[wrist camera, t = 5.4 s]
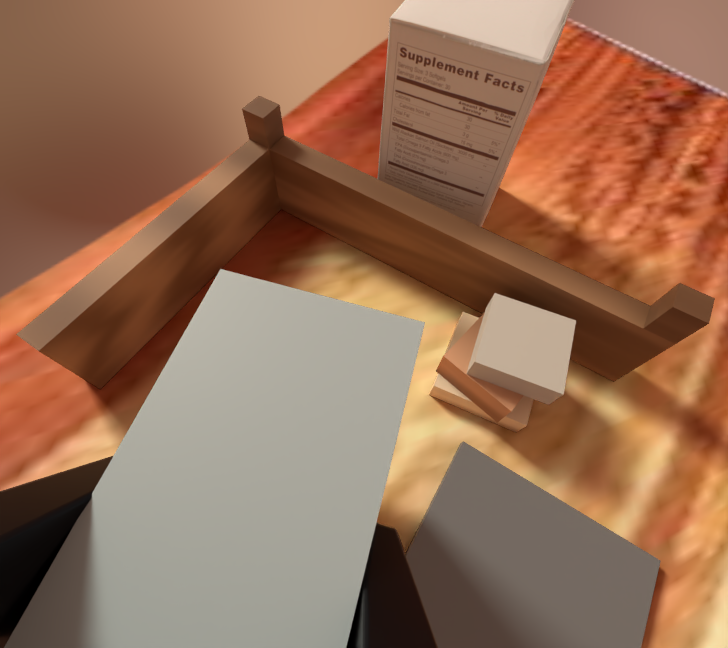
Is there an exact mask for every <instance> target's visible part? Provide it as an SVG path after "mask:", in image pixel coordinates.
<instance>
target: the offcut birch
mask: <svg viewBox="0 0 728 648" xmlns="http://www.w3.org/2000/svg"><path fill="white" fill-rule="evenodd" d="M478 319H479V318H478V317H475V316H473V315H470V314H468V313H465V312H462V314H461V316H460V318H459V320H458V322H457V324H456V327H455V330H454V332H453V335H452V337H451V340H450V342H449V345H448V347H447V350H446V353H447V352H448V351H449V350H450V349H451V347H452V346H453V345H454V344H455V343H456V342H457V341H458V340H459V339H460V338H461V337H462V336H463V335H464V334H465V333H466V332H467V330H468V329H469V328H470V327H471V326H472V325H473V324H474V323H475V322H476V321H477V320H478ZM446 353H445V354H446ZM429 395H431V396H433V397H435V398H438V399H440V400H442V401H444V402H447V403H449V404H451V405H454V406H456V407H458V408H461V409H463V410H465V411H467V412H470V413H472V414H474V415H477V416H479V417H481V418H484V419H486V420H488V421H490V422H493V423H495V424H497V425H500V426H502V427H504V428H507V429H509V430H511V431H513V432H518V431H519V430H521V429H522V428H524V427H525V426H527V423H528V419H529V415H530V412H531V408H532V404H533V400H534V399H532V398H529V397H526V396H523V397H522V399H521V400H520V401H519V402H518V404H517V405H516V406H515V407H514V409H513V410H512V411H511V412H510V413H509V414H508V415H506V416H505V417H504V418H503V419H501V420H500V421H499V422H498V423H497V422H496V421H495V420H494V419H492V418H491V417H490V416H489V415H488V414H486V413H485V412H484V411H483V410H482V409H480V408H479V407H478V406H477V405H476V404H474V403H473V402H472V401H471V400H470V399H469V398H467V397H466V396H465V395H464V394H463V393H461V392H460V391H459V390H458V389H457V388H455V387H454V386H453V385H452V384H451V383H449V382H448V381H447V380H446V379H445V378H443V377H442V376H441V375H440V374H439V373H437V376H436V378H435V381H434V383H433V386H432V388H431V391H430V394H429Z"/></svg>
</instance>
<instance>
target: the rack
mask: <svg viewBox="0 0 728 648" xmlns="http://www.w3.org/2000/svg"><path fill="white" fill-rule="evenodd" d="M242 110H243V115H244V119H245V122H246V127H247V131H248V135H249V139H250V140H249V141H247V142H246V143H245V144H244V145H243V146H241V147H240V148H239V149H238V150H237V151H235V152H234V153H233V154H232V155H231V156H229V157H228V158H227V159H226V160H225V161H223V162H222V163H221V164H220V165H219V166H217V167H216V168H215V169H214V170H213V171H211V172H210V173H209V174H208V175H207V176H205V177H204V178H203V179H202V180H201V181H199V182H198V183H197V184H196V185H195V186H193V187H192V188H191V189H190V190H189V191H188V192H186V193H185V194H184V195H183V196H182V197H180V198H179V199H178V200H177V201H176V202H174V203H173V204H172V205H171V206H170V207H168V208H167V209H166V210H165V211H164V212H162V213H161V214H160V215H159V216H158V217H156V218H155V219H154V220H153V221H152V222H150V223H149V224H148V225H147V226H146V227H144V228H143V229H142V230H141V231H140V232H138V233H137V234H136V235H135V236H134V237H132V238H131V239H130V240H129V241H128V242H126V243H125V244H124V245H123V246H122V247H120V248H119V249H118V250H117V251H116V252H114V253H113V254H112V255H111V256H110V257H108V258H107V259H106V260H105V261H104V262H102V263H101V264H100V265H99V266H98V267H96V268H95V269H94V270H93V271H92V272H90V273H89V274H88V275H87V276H86V277H84V278H83V279H82V280H81V281H80V282H78V283H77V284H76V285H75V286H74V287H72V288H71V289H70V290H69V291H68V292H66V293H65V294H64V295H63V296H62V297H60V298H59V299H58V300H57V301H56V302H55V303H53V304H52V305H51V306H50V307H49V308H47V309H46V310H45V311H44V312H43V313H41V314H40V315H39V316H38V317H37V318H35V319H34V320H33V321H32V322H31V323H29V324H28V325H27V326H26V327H25V328H23V329H22V330H21V331H20V332H19V333H17V334H16V335H18V336H19V337H20V338H22V339H23V340H24V341H26V342H27V343H28V344H30V345H31V346H33V347H34V348H35V349H37V350H38V351H39V352H41V353H43V354H44V355H46V356H47V357H49V358H51V359H52V360H54V361H55V362H57V363H59V364H60V365H62V366H63V367H65V368H67V369H68V370H70V371H71V372H73V373H75V374H76V375H78V376H79V377H81V378H83V379H84V380H86V381H88V382H89V383H91V384H92V385H94V386H96V387H97V388H99V389H101V388H102V387H103V386H104V385H105V384H106V383H107V382H108V381H109V380H110V379H111V378H112V377H113V376H114V375H115V374H116V373H117V372H118V371H119V370H120V369H121V368H122V367H123V366H124V365H125V364H126V363H127V362H128V361H129V360H130V359H131V358H132V357H133V356H134V355H135V354H136V353H137V352H138V351H139V350H140V349H141V348H142V347H143V346H144V345H145V344H146V343H147V342H148V341H149V340H150V339H151V338H152V337H153V336H154V335H155V334H156V333H157V332H158V331H159V330H160V329H161V328H162V327H163V326H164V325H165V324H166V323H167V322H168V321H169V320H170V319H171V318H172V317H173V316H174V315H175V314H176V313H178V312H179V311H180V310H181V309H182V308H183V307H184V306H185V305H186V304H187V303H188V302H189V301H190V300H191V299H192V298H193V297H194V296H195V295H196V294H197V293H198V292H199V291H200V290H201V289H202V288H203V287H204V286H205V285H206V284H207V283H208V282H209V281H210V280H211V279H212V278H213V277H214V276H215V275H216V274H217V273H218V272H219V271H220V269H222V268H223V267H224V266H225V265H226V264H227V263H228V262H229V261H230V260H231V259H232V258H233V257H234V256H235V255H236V254H237V253H238V252H239V251H240V250H241V249H242V248H243V247H244V246H245V245H246V244H247V243H248V242H249V241H250V240H251V239H252V238H253V237H254V236H255V235H256V234H257V233H258V232H259V231H260V230H261V229H262V228H263V227H264V226H265V225H266V224H267V223H268V222H269V221H270V220H271V219H272V218H273V217H274V216H275V215H276V214H277V213H278V212H279V211H280V210H281V209H282V210H284V211H286V212H288V213H289V214H291V215H293V216H295V217H297V218H299V219H301V220H303V221H305V222H307V223H309V224H311V225H313V226H315V227H316V228H318V229H320V230H322V231H324V232H326V233H328V234H330V235H332V236H334V237H336V238H338V239H340V240H342V241H343V242H345V243H347V244H349V245H351V246H353V247H355V248H357V249H359V250H361V251H363V252H365V253H367V254H369V255H370V256H372V257H374V258H376V259H378V260H380V261H382V262H384V263H386V264H388V265H390V266H392V267H394V268H396V269H397V270H399V271H401V272H403V273H405V274H407V275H409V276H411V277H413V278H415V279H417V280H419V281H421V282H423V283H424V284H426V285H428V286H430V287H432V288H434V289H436V290H438V291H440V292H442V293H444V294H446V295H448V296H450V297H451V298H453V299H455V300H457V301H459V302H461V303H463V304H465V305H467V306H469V307H471V308H473V309H475V310H477V311H478V312H480V313H482V314H483V313H484V312H485V309H486V307H487V306H488V304H489V302H490V300H491V299H492V297H493V295H494V294H495V293H496V294H499V295H502V296H505V297H508V298H511V299H514V300H517V301H520V302H523V303H526V304H529V305H532V306H535V307H538V308H541V309H544V310H547V311H549V312H552V313H555V314H558V315H561V316H564V317H567V318H570V319H573V320H576V324H575V330H574V336H573V342H572V348H571V354H570V359H571V360H573V361H575V362H577V363H579V364H581V365H583V366H585V367H586V368H588V369H590V370H592V371H594V372H596V373H598V374H600V375H602V376H604V377H606V378H608V379H610V380H612V381H613V382H614V381H616V380H617V379H619V378H621V377H622V376H624V375H625V374H627V373H629V372H630V371H632V370H634V369H635V368H637V367H639V366H640V365H642V364H643V363H645V362H647V361H648V360H650V359H652V358H653V357H655V356H657V355H658V354H660V353H661V352H663V351H665V350H666V349H668V348H670V347H671V346H673V345H675V344H676V343H678V342H679V341H681V340H683V339H684V338H686V337H688V336H689V335H691V334H693V333H694V332H696V331H697V330H699V329H701V328H702V327H704V326H706V325H707V324H709V321H710V316H711V312H712V308H713V304H714V299H715V298H712V297H710V296H708V295H706V294H703V293H701V292H699V291H697V290H695V289H692V288H690V287H688V286H686V285H683V284H681V283H679V284H678V285H676V286H675V287H674V288H673V289H671V290H670V291H669V292H668V293H666V294H665V295H664V296H662V297H661V298H660V299H659V300H657V301H656V302H655V303H654V304H652V305H651V306H649V305H647V304H645V303H643V302H641V301H639V300H637V299H634V298H632V297H630V296H628V295H626V294H624V293H621V292H619V291H617V290H615V289H613V288H611V287H609V286H606V285H604V284H602V283H600V282H598V281H596V280H594V279H591V278H589V277H587V276H585V275H583V274H581V273H578V272H576V271H574V270H572V269H570V268H568V267H566V266H563V265H561V264H559V263H557V262H555V261H553V260H551V259H548V258H546V257H544V256H542V255H540V254H538V253H536V252H533V251H531V250H529V249H527V248H525V247H523V246H520V245H518V244H516V243H514V242H512V241H510V240H508V239H505V238H503V237H501V236H499V235H497V234H495V233H493V232H490V231H488V230H486V229H484V228H482V227H480V226H477V225H475V224H473V223H471V222H469V221H467V220H465V219H462V218H460V217H458V216H456V215H454V214H452V213H450V212H447V211H445V210H443V209H441V208H439V207H437V206H434V205H432V204H430V203H428V202H426V201H424V200H422V199H419V198H417V197H415V196H413V195H411V194H409V193H407V192H404V191H402V190H400V189H398V188H396V187H394V186H391V185H389V184H387V183H385V182H383V181H381V180H379V179H376V178H374V177H372V176H370V175H368V174H366V173H364V172H361V171H359V170H357V169H355V168H353V167H351V166H349V165H346V164H344V163H342V162H340V161H338V160H336V159H333V158H331V157H329V156H327V155H325V154H323V153H321V152H318V151H316V150H314V149H312V148H310V147H308V146H306V145H303V144H301V143H299V142H297V141H295V140H293V139H290V138H288V137H286V136H284V131H283V124H282V118H281V112H280V105H279V104H276V103H274V102H272V101H270V100H267V99H265V98H263V97H261V96H258V97H257V98H255V99H254V100H253V101H252V102H250V103H249V104H248V105H246V106H245V107H244V108H243V109H242Z"/></svg>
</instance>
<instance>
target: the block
mask: <svg viewBox="0 0 728 648" xmlns="http://www.w3.org/2000/svg"><path fill="white" fill-rule="evenodd" d="M424 324H425V322H421V321H417V320H414V319H410V318H406V317H402V316H398V315H394V314H391V313H387V312H383V311H379V310H375V309H372V308H368V307H364V306H360V305H356V304H353V303H349V302H345V301H341V300H337V299H333V298H330V297H326V296H322V295H318V294H314V293H311V292H307V291H303V290H299V289H295V288H292V287H288V286H284V285H280V284H276V283H272V282H269V281H265V280H261V279H257V278H253V277H250V276H246V275H242V274H238V273H234V272H231V271H227V270H223V269H220V271H219V272H218V274H217V276H216V278H215V279H214V281H213V283H212V285H211V286H210V288H209V290H208V292H207V293H206V295H205V297H204V299H203V300H202V302H201V304H200V306H199V307H198V309H197V311H196V313H195V314H194V316H193V318H192V320H191V321H190V323H189V325H188V327H187V328H186V330H185V332H184V334H183V335H182V337H181V339H180V341H179V342H178V344H177V346H176V348H175V349H174V351H173V353H172V355H171V356H170V358H169V360H168V362H167V363H166V365H165V367H164V369H163V370H162V372H161V374H160V376H159V377H158V379H157V381H156V383H155V384H154V386H153V388H152V390H151V391H150V393H149V395H148V397H147V398H146V400H145V402H144V404H143V405H142V407H141V409H140V411H139V412H138V414H137V416H136V418H135V419H134V421H133V423H132V425H131V426H130V428H129V430H128V432H127V433H126V435H125V437H124V439H123V440H122V442H121V444H120V446H119V447H118V449H117V451H116V453H115V454H114V456H113V458H112V460H111V461H110V463H109V465H108V467H107V468H106V470H105V472H104V474H103V475H102V477H101V479H100V481H99V482H98V484H97V486H96V488H95V489H94V491H93V493H92V498H91V500H90V501H89V503H88V504H87V506H86V507H85V509H84V510H83V512H82V513H81V515H80V516H79V518H78V519H77V521H76V523H75V524H74V526H73V528H72V530H71V531H70V533H69V535H68V537H67V538H66V540H65V542H64V544H63V545H62V547H61V549H60V551H59V552H58V554H57V556H56V558H55V559H54V561H53V563H52V565H51V566H50V568H49V570H48V572H47V573H46V575H45V577H44V579H43V580H42V582H41V584H40V586H39V587H38V589H37V591H36V593H35V594H34V596H33V598H32V600H31V601H30V603H29V605H28V607H27V608H26V610H25V612H24V614H23V615H22V617H21V619H20V621H19V622H18V624H17V626H16V628H15V629H14V631H13V633H12V635H11V636H10V638H9V640H8V642H7V643H6V645H5V647H4V648H346V646H347V642H348V638H349V634H350V630H351V625H352V621H353V617H354V613H355V609H356V605H357V601H358V597H359V592H360V588H361V584H362V580H363V576H364V572H365V568H366V564H367V559H368V555H369V551H370V547H371V543H372V539H373V535H374V531H375V526H376V522H377V518H378V514H379V510H380V506H381V502H382V498H383V493H384V489H385V485H386V481H387V477H388V473H389V469H390V465H391V460H392V456H393V452H394V448H395V444H396V440H397V436H398V432H399V427H400V423H401V419H402V415H403V411H404V407H405V403H406V398H407V394H408V390H409V386H410V382H411V378H412V374H413V370H414V365H415V361H416V357H417V353H418V349H419V345H420V341H421V337H422V332H423V328H424Z"/></svg>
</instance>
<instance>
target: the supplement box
mask: <svg viewBox="0 0 728 648" xmlns="http://www.w3.org/2000/svg"><path fill="white" fill-rule="evenodd" d="M574 1H575V0H405V1H404V2H403V3H402V4H401V5H400V7H399V8H398V9H397V10H396V11H395V13H393V15H392V16H391V17H390V21H389V23H390V24H389V37H388V50H387V64H386V77H385V90H384V102H383V114H382V127H381V141H380V155H379V169H378V179H379V180H381V181H383V182H385V183H387V184H389V185H391V186H394V187H396V188H398V189H400V190H402V191H404V192H407V193H409V194H411V195H413V196H415V197H417V198H419V199H422V200H424V201H426V202H428V203H430V204H432V205H434V206H437V207H439V208H441V209H443V210H445V211H447V212H450V213H452V214H454V215H456V216H458V217H460V218H462V219H465V220H467V221H469V222H471V223H473V224H475V225H477V226H480V227H482V225H483V223H484V221H485V219H486V217H487V215H488V212H489V210H490V208H491V206H492V203H493V201H494V198H495V196H496V193H497V191H498V189H499V186H500V184H501V181H502V179H503V177H504V174H505V172H506V169H507V167H508V164H509V162H510V160H511V157H512V155H513V152H514V150H515V148H516V145H517V143H518V140H519V138H520V136H521V133H522V131H523V128H524V126H525V124H526V121H527V119H528V116H529V114H530V111H531V109H532V107H533V104H534V102H535V99H536V97H537V94H538V92H539V89H540V87H541V84H542V82H543V79H544V77H545V74H546V72H547V69H548V67H549V64H550V62H551V59H552V56H553V54H554V51H555V49H556V46H557V44H558V41H559V38H560V36H561V33H562V31H563V28H564V26H565V23H566V21H567V18H568V16H569V13H570V11H571V8H572V5H573V3H574Z"/></svg>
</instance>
